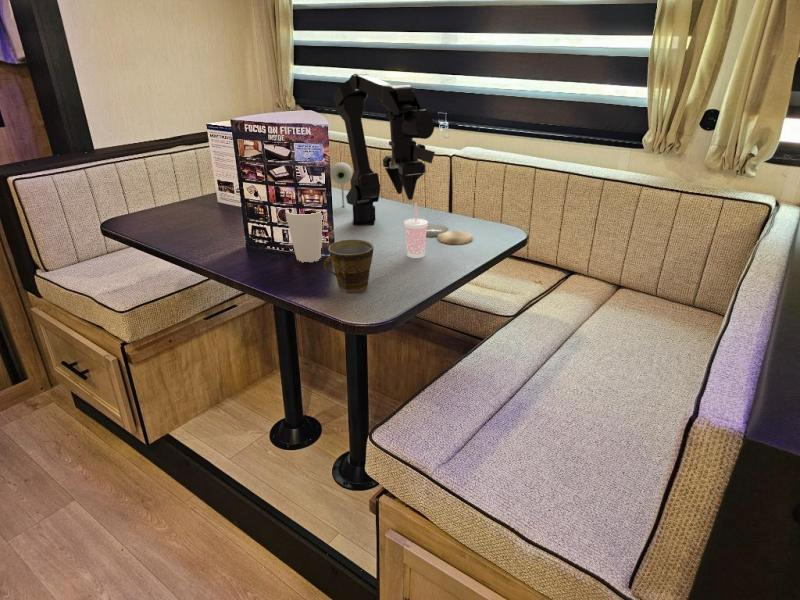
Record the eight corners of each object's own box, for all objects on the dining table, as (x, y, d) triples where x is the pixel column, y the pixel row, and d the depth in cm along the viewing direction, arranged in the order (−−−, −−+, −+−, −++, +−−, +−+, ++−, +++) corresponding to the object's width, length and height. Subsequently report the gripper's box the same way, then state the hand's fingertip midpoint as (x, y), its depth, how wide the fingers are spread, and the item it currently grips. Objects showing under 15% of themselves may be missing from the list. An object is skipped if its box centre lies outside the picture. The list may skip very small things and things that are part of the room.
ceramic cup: (353, 276, 130) (351, 236, 126) (384, 286, 124) (382, 245, 120) (312, 293, 122) (308, 251, 117) (342, 306, 116) (339, 262, 111)
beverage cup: (405, 250, 146) (405, 199, 140) (428, 251, 145) (428, 199, 139) (403, 258, 140) (402, 205, 134) (426, 259, 139) (427, 206, 133)
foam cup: (332, 253, 144) (329, 205, 139) (318, 266, 136) (314, 216, 131) (299, 250, 147) (295, 203, 141) (284, 262, 139) (278, 213, 133)
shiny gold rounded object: (439, 244, 149) (439, 242, 149) (435, 233, 158) (435, 231, 158) (475, 243, 150) (475, 241, 149) (469, 232, 159) (469, 230, 158)
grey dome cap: (415, 237, 155) (415, 235, 155) (413, 226, 164) (413, 224, 164) (450, 236, 156) (450, 234, 155) (445, 225, 165) (445, 223, 164)
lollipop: (332, 210, 181) (329, 164, 175) (333, 204, 188) (330, 160, 181) (354, 209, 182) (351, 164, 175) (353, 203, 188) (351, 159, 182)
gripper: (443, 137, 135) (445, 199, 141) (418, 132, 152) (421, 187, 158) (401, 141, 132) (404, 204, 138) (380, 135, 149) (384, 192, 155)
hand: (404, 196), depth 147 cm, fingers open, 9 cm apart
